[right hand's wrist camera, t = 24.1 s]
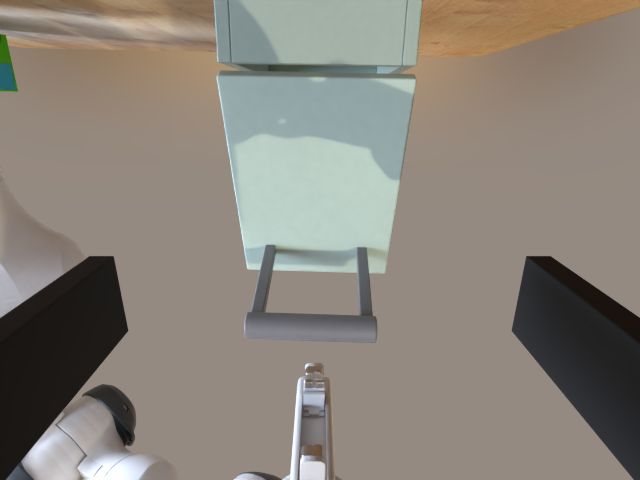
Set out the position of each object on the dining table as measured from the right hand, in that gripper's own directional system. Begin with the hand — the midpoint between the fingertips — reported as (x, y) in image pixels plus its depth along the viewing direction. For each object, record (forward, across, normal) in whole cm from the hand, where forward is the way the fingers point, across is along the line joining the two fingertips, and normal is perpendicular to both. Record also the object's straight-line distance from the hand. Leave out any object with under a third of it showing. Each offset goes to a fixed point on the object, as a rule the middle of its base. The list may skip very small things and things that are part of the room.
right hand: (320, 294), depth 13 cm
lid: (+13, 0, -1) cm, 13 cm away
